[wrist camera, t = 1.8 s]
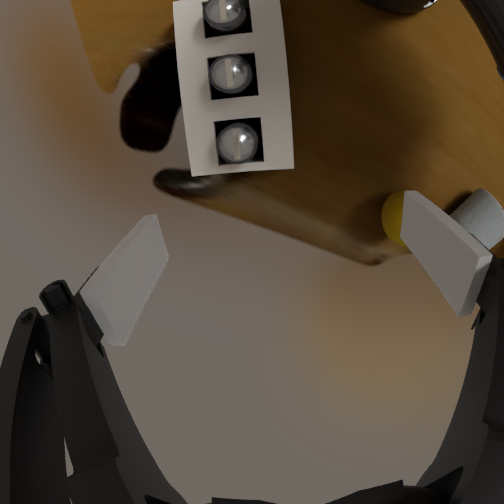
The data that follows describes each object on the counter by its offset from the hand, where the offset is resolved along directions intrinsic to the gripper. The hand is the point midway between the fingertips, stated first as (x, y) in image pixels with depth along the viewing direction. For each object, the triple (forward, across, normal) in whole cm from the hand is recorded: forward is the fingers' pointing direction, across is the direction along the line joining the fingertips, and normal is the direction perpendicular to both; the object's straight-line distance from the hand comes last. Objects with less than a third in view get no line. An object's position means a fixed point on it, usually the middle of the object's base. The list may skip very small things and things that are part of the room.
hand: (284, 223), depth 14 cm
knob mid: (+15, -3, +9) cm, 18 cm away
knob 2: (+15, -3, +3) cm, 16 cm away
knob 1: (+15, -2, +16) cm, 22 cm away
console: (+18, -3, +9) cm, 20 cm away
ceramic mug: (+18, +28, -10) cm, 34 cm away
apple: (+18, +14, -7) cm, 24 cm away
